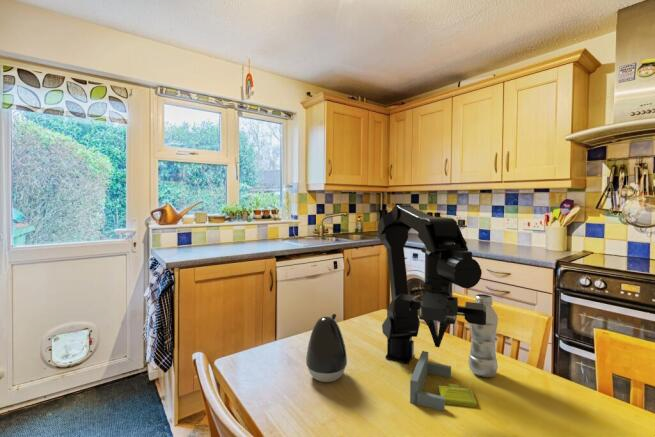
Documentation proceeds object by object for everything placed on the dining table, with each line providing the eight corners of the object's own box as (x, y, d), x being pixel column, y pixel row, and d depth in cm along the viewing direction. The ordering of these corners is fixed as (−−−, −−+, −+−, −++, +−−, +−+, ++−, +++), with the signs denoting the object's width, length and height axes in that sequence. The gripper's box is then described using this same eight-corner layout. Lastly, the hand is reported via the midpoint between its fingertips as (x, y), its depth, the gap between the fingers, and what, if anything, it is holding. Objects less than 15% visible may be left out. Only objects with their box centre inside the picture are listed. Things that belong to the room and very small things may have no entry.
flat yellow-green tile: (435, 409, 68) (435, 396, 68) (430, 385, 77) (430, 374, 77) (485, 416, 66) (486, 402, 66) (475, 390, 75) (475, 378, 75)
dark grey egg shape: (353, 370, 83) (353, 313, 82) (337, 392, 74) (337, 327, 73) (317, 362, 87) (317, 307, 86) (298, 382, 78) (298, 320, 77)
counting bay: (410, 402, 70) (410, 380, 70) (422, 369, 83) (422, 350, 83) (444, 411, 67) (444, 388, 66) (450, 375, 80) (451, 356, 80)
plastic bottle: (501, 382, 77) (503, 300, 76) (471, 379, 79) (472, 299, 78) (493, 368, 84) (494, 293, 82) (465, 366, 85) (466, 291, 84)
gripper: (386, 280, 66) (385, 353, 67) (487, 290, 58) (485, 374, 59) (398, 269, 76) (398, 333, 77) (486, 277, 68) (484, 349, 69)
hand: (437, 346), depth 70 cm, fingers closed
